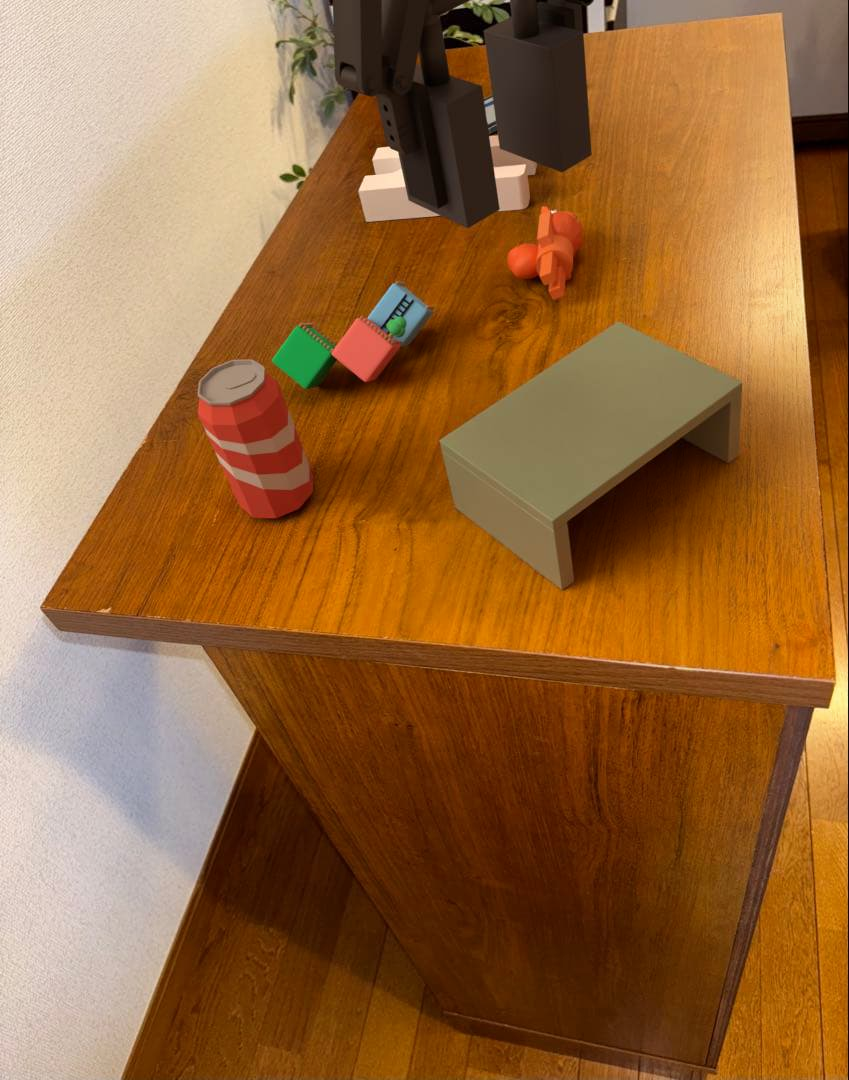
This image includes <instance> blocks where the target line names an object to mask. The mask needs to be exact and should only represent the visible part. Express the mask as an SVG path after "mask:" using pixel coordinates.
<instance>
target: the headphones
mask: <svg viewBox="0 0 849 1080" xmlns="http://www.w3.org/2000/svg"><path fill="white" fill-rule="evenodd" d="M470 1H471V0H428V4H427V9H426V14H425V20H424V25H423V30H422V35H421V41H420V46H419V51H418V59H419V64H416V67H415V72H414V78H413V81H415V82H418V83H420V84H423V85H426V86H427V87H428V92H429V101H430V106H431V112H432V117H433V123H434V128H435V134H436V139H437V144H438V150H439V155H440V161H441V166H442V172H443V177H444V182H445V188H446V193H447V199H448V204H446V205H444V206H442V207H441V208H439V209H438V208H436V207H434V206H431V205H429V204H427V203H425V202H423V201H421V200H419V199H416V198H414V197H412V196H410V195H409V191H408V186H407V181H406V176H405V172H404V167H403V162H402V158H401V153H399V152H398V154H399V159H400V163H401V168H402V173H403V177H404V182H405V187H406V191H407V196H408V200H409V201H411V202H413V203H415V204H417V205H419V206H421V207H423V208H426V209H428V210H430V211H432V212H434V213H436V214H438V215H440V216H439V217H442V218H445V219H446V220H448V221H451V222H453V223H455V224H457V225H459V226H462V227H464V228H466V229H469V228H471V227H473V226H474V225H476V224H479V222H481V221H483V220H486V218H488V217H490V216H492V215H493V214H495V213H497V212H499V211H498V210H500V208H499V201H498V194H497V187H496V180H495V173H494V166H493V159H492V152H491V146H490V139H489V136H490V134H489V132H488V125H487V118H486V111H485V104H484V98H485V97H484V91H483V90H484V89H483V86H482V85H481V84H478V83H475V82H473V81H472V82H471V81H469V80H467V79H466V80H465V79H462V78H459V77H456V76H453V75H451V74H450V69H449V64H448V57H447V52H446V46H445V40H444V34H443V28H442V27H443V26H442V21H441V17H440V16H441V15H444V14H446V13H448V12H450V11H452V10H454V9H456V8H458V7H460V6H462V5H464V4H466V3H468V2H470ZM537 3H538V2H537V0H509V4H510V5H509V6H510V13H511V14H510V15H511V16H509V17H507V18H505V19H503V20H502V21H500V22H497V23H495V24H493V25H491V26H489V27H488V28H486V29H484V30H483V36H484V44H485V52H486V58H487V66H488V74H489V81H490V88H491V95H492V96H493V103H494V110H495V117H496V125H497V131H496V132H497V135H498V139H499V147H500V149H502V150H504V151H507V152H510V153H512V154H515V155H518V156H520V157H523V158H525V159H528V160H531V161H533V162H536V163H537V165H538V164H539V165H542V166H543V167H547V168H549V169H552V170H555V171H557V172H559V173H564V172H566V171H567V170H569V169H571V168H573V167H574V166H576V165H578V164H580V163H581V162H582V161H585V160H586V159H588V158H590V157H591V156H592V139H591V126H590V123H591V122H590V111H589V96H588V94H589V93H588V82H587V81H588V79H587V66H586V65H587V64H586V51H585V49H586V48H585V36H584V35H585V34H584V30H582V31H579V30H575V29H571V28H567V27H563V26H559V25H555V24H551V23H547V22H542V21H538V11H537Z"/></svg>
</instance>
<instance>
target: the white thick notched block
mask: <svg viewBox="0 0 849 1080" xmlns="http://www.w3.org/2000/svg"><path fill="white" fill-rule="evenodd" d="M489 139H490V146H491V152H492V159H493V166H494V173H495V180H496V187H497V194H498V201H499V208H500V210H498V211H497V212H508V211H520V210H525V209H527V208H528V207H529V204H530V199H531V194H530V184H529V176H535V175H536V173H537V167H538V163H536V162H533V161H531V160H528V159H525V158H523V157H520V156H518V155H515V154H512V153H510V152H507V151H504V150H502V149H500V147H499V139H498V134H496V135H489ZM371 161H372V165H373V169H374V174H370V175H365V176H364V177H363V179H362V181H361V184H360V186H359V188H358V196H359V199H360V203H361V207H362V208H361V209H362V212H363V215H364V219H365V222H366V223H371V222H383V221H395V220H407V219H418V218H419V219H420V218H429V217H441V216H440V215H438V214H436V213H434V212H432V211H430V210H428V209H426V208H423V207H421V206H419V205H417V204H415V203H413V202H411V201H409V200H408V196H407V191H406V187H405V182H404V177H403V173H402V168H401V163H400V159H399V154H398V152H397V151H395V150H392V149H391V148H390V147H389V146H382V147H377V148H376V150H375V152H374V154H373V156H372V159H371Z"/></svg>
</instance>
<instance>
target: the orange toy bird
mask: <svg viewBox="0 0 849 1080" xmlns="http://www.w3.org/2000/svg"><path fill="white" fill-rule="evenodd" d="M577 218H578V216H577V215H576V214H575V213H574V212H572V211H569V210H567V211H565V210H564V211H563V210H557V209H555V208H554V209H552V210H551V209H550V208H549V207H548V206H547V205H542V206H541V208H540V214H539V218H538V227H537V236H536V240H537V244H535V243H528V242H526V243H525V242H524V243H521V244H519V245H517V246H515V247H513V248H512V249H510V251H509V252H508V254H507V257H506V261H507V266H508V267H507V268H508V270H509V271H510V272H511V273H512V274H513V276H514V277H515V278H517V279H518V280H531V279H534V278H537V277H538V276H539V278H540V281H541V282H542V284H543V286H548V293H549V295H550V297H551V299H552V301H555V300H557V299H560V298H563V297H565V291H566V281H569V280H571V278H572V272H573V266H574V256H575V255H576V253H577V252H578V251H579V250H580V248H581V247H582V246H583V244H584V238H583V226H582V223H581V222H580V221H579V220H577Z"/></svg>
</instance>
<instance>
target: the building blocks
mask: <svg viewBox="0 0 849 1080" xmlns="http://www.w3.org/2000/svg"><path fill="white" fill-rule="evenodd" d="M406 285H407V283H406V282H404V281H400V280H396V281H395V283H394V282H393V283H392V284H391V286H389V288H388V289H387V290H386V292H385V293H384V294H383V296H382V297H381V298H380V300H379V301H378V302H377V303H376V305H375V306H374V308H373V309H372V311H371V312H370V313H369V315H368V316H367V317H364V316H363V315H360V316H358V317H357V318H356V319H355V320H354V321H353V322H352V324H351V325H350V327H349V328H348V329H347V331H346V332H345V333H344V335H343V336H342V338H341V339H340V340H339V341H338V343H337V342H336V341H334V339H331V336H327V334H326V333H324V331H321V329H320V328H318V326H316V325H314V323H313V322H300V324H299V325H296V326H295V327H294V328H293V329H292V331H291V332H290V334H289V335H288V337H287V338H286V339H285V340H284V342H283V344H282V345H281V346H280V347H279V349H278V350H277V351H276V353H275V355H274V356H273V357H272V359H271V362H272V364H274V366H276V367H277V368H278V369H280V370H281V372H284V374H285V375H287V376H288V377H289V378H291V379H292V381H294V382H295V383H297V384H298V385H299V386H301V387H302V388H303V389H304V390H309V389H312V388H313V389H314V388H317V387H318V386H319V385H320V384H321V383H322V382H323V380H324V379H325V378H326V376H327V375H328V374H329V372H330V371H331V369H332V368H333V367H334V365H335V364H336V363H337V361H338V362H339V363H341V364H342V365H343V366H344V367H346V368H347V369H348V370H349V371H351V373H353V374H354V375H356V377H358V378H359V379H360V380H362V382H364V383H369V382H373V381H375V380H377V379H378V378H379V376H380V375H381V374H382V372H383V371H384V369H385V368H386V367H387V366H388V364H389V363H390V362H391V361H392V359H393V358H394V356H395V355H396V354H397V352H398V351H399V350H400V349H401V347H405V346H406V347H407V346H409V345H411V344H412V342H413V340H415V338H416V337H417V335H418V334H419V333H420V332H421V330H422V329H423V328H424V326H425V325H426V323H427V322H428V321H429V320H430V318H431V317H432V316H433V314H434V310H435V309H436V307H435V306H433V305H429V304H428V305H427V304H426V303H425V302H424V301H422V299H420V298H419V297H418V296H416V295H415V294H414V293H412V291H410V290H409V289H408V288H407V287H406ZM313 326H314V327H313ZM323 334H324V335H323ZM329 340H330V341H329ZM333 342H334V343H333Z"/></svg>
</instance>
